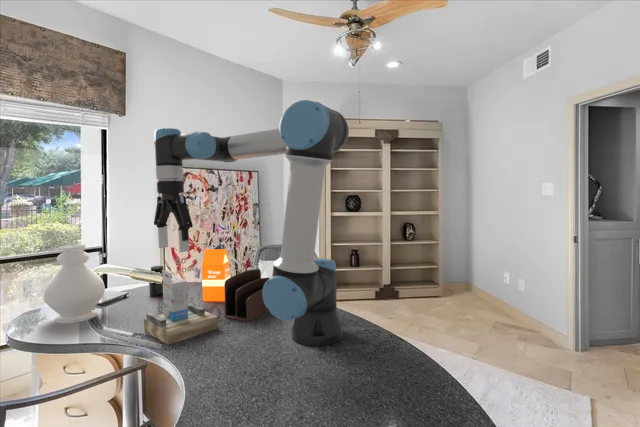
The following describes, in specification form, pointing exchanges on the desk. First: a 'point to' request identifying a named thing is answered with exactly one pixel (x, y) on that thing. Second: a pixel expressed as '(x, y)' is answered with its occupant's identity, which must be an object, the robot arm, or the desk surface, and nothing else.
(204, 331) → the box
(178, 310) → the ink box
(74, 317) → the decorative vase
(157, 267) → the supplement bottle
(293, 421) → the desk surface
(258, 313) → the letter holder
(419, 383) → the desk surface
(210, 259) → the orange juice
